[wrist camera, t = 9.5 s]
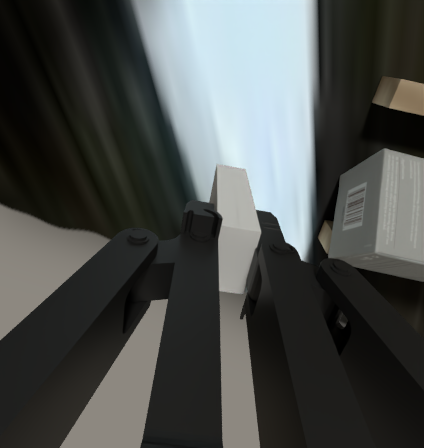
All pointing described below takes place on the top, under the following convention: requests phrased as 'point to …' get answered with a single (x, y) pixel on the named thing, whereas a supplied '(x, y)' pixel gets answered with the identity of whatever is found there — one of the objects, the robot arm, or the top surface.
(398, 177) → the skincare box
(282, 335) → the robot arm
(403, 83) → the u rest
